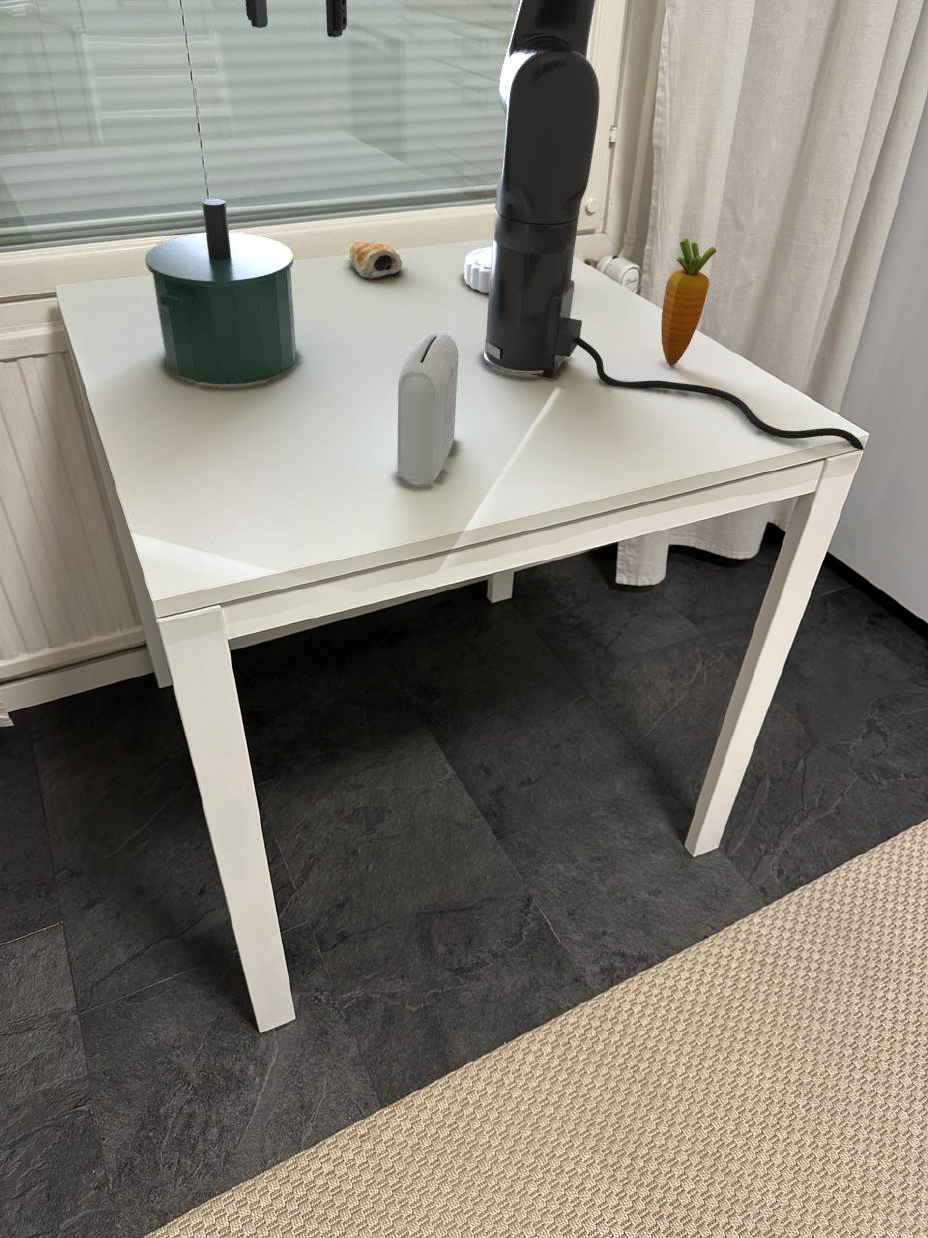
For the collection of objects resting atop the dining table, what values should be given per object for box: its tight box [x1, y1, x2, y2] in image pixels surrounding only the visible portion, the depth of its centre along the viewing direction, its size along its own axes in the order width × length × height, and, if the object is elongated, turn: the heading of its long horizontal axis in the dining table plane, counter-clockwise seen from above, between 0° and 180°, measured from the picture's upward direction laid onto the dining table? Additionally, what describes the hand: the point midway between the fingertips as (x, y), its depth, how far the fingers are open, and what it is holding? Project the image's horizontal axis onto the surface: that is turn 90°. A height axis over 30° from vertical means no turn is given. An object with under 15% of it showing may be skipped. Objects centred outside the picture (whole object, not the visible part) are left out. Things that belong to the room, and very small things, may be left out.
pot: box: [151, 268, 297, 386], centre depth 104 cm, size 15×20×12 cm
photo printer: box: [396, 332, 459, 483], centre depth 88 cm, size 10×4×12 cm, turn 168°
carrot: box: [660, 238, 717, 367], centre depth 108 cm, size 5×5×15 cm
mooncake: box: [463, 246, 492, 294], centre depth 131 cm, size 12×12×4 cm
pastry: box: [349, 241, 403, 280], centre depth 133 cm, size 9×7×4 cm
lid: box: [144, 198, 294, 287], centre depth 98 cm, size 16×16×7 cm
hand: (297, 31), depth 94 cm, fingers open, 8 cm apart
